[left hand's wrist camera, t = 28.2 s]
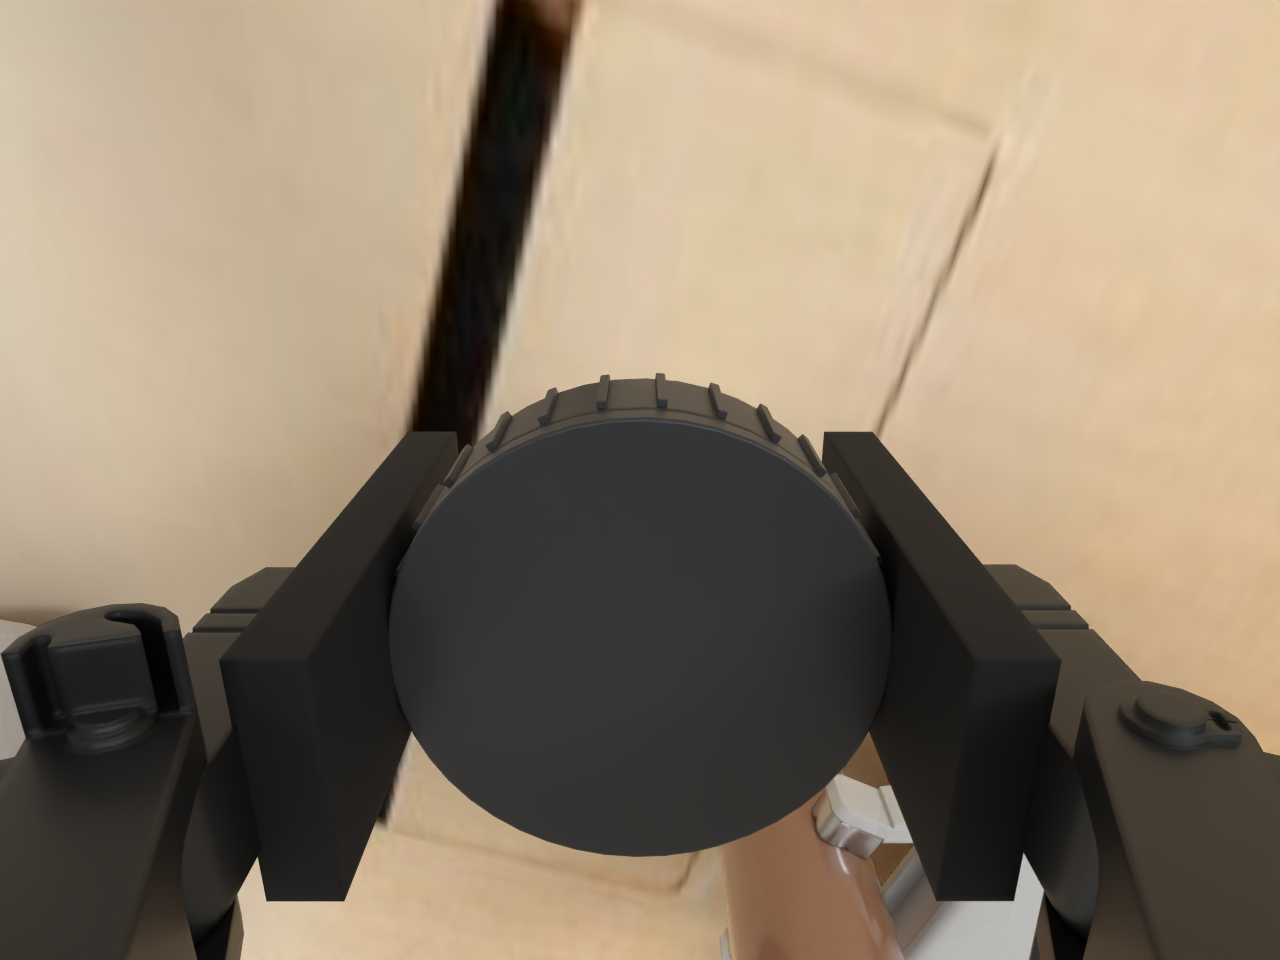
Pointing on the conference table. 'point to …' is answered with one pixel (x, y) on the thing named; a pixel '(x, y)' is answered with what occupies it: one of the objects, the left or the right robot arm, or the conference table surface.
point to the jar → (803, 897)
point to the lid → (640, 620)
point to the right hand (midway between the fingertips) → (775, 874)
